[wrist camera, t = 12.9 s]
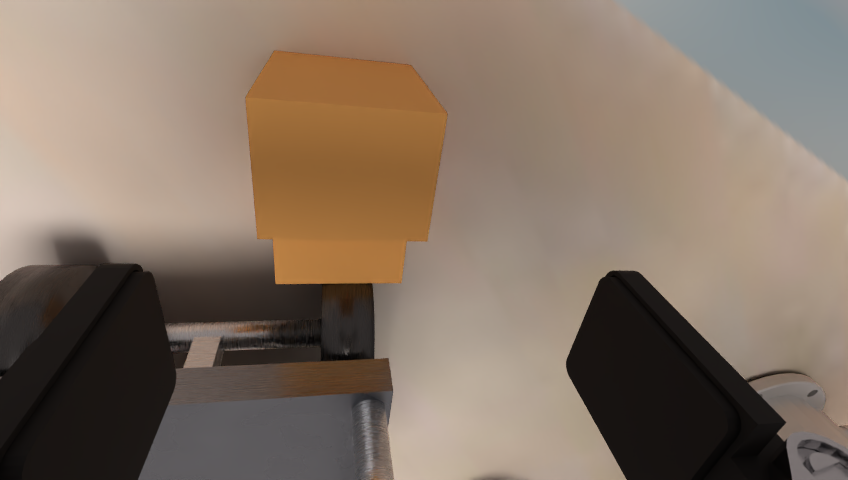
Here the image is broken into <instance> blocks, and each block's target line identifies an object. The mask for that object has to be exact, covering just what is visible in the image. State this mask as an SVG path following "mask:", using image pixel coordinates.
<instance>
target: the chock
mask: <svg viewBox="0 0 848 480" xmlns="http://www.w3.org/2000/svg"><path fill="white" fill-rule="evenodd" d="M245 99H246V111H247V123H248V134H249V146H250V158H251V169H252V181H253V193H254V205H255V216H256V228H257V239H273V251H274V267H275V282H276V284H345V283H401V281H402V274H403V266H404V258H405V250H406V243H407V241H427V240H428V234H429V227H430V221H431V215H432V209H433V202H434V196H435V190H436V184H437V177H438V171H439V165H440V159H441V152H442V146H443V140H444V134H445V127H446V121H447V115H448V114H447V112H446V111H445V110H444V108H443V107H442V106H441V104H440V103H439V102H438V100H437V99H436V98H435V96H434V95H433V94H432V92H431V91H430V90H429V88H428V87H427V86H426V84H425V83H424V82H423V80H422V79H421V78H420V76H419V75H418V74H417V72H416V71H415V70H414V68H413V67H412V66H411V65H406V64H396V63H387V62H377V61H368V60H359V59H349V58H340V57H330V56H321V55H311V54H302V53H292V52H283V51H274V52H273V54H272V55H271V57H270V59H269V60H268V62H267V63H266V65H265V67H264V68H263V70H262V71H261V73H260V75H259V76H258V78H257V79H256V81H255V83H254V84H253V86H252V87H251V89H250V91H249V92H248V94H247V95H246V97H245Z"/></svg>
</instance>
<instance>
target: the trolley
mask: <svg viewBox="0 0 848 480" xmlns="http://www.w3.org/2000/svg"><path fill="white" fill-rule="evenodd" d="M97 267H98V266H96V265H30V266H25V267H22V268H19V269H17V270H15V271H13V272H12V273H10V274H9V275H7V276H6V277H5V278H4V279H3V280H1V281H0V379H1V378H2V377H3V375H4V374H5V373H6V372H7V371H8V369H9V368H10V367H11V366H12V365H13V363H14V362H15V361H16V360H17V359H18V358H19V356H20V355H21V354H22V353H23V352H24V350H25V349H26V348H27V347H28V346H29V345H30V344H31V343H32V342H34V341H35V340H37V339H38V337H39V336H40V335H41V334H42V333H43V331H44V330H45V329H46V328H47V327H48V325H49V324H50V323H51V322H52V321H53V319H54V318H55V317H56V316H57V315H58V313H59V312H60V311H61V310H62V308H63V307H64V306H65V305H66V304H67V302H68V301H69V300H70V299H71V298H72V296H73V295H74V294H75V293H76V292H77V290H78V289H79V288H80V287H81V286H82V284H83V283H84V282H85V281H86V280H87V278H88V277H89V276H90V275H91V274H92V272H93V271H94V270H95V269H96V268H97ZM165 327H166V331H167V335H168V339H169V343H170V348H171V352H172V353H182V352H189V353H188V356H187V359H186V361H185V364H184V367H183V368H176V385H175V389H174V392H173V394H172V397H171V399H170V402H169V404H168V407H167V409H166V412H165V414H164V417H163V419H162V421H161V424H160V426H159V429H158V431H157V434H156V436H155V439H154V441H153V444H152V446H151V449H150V451H149V454H148V456H147V459H146V461H145V464H144V466H143V469H142V471H141V473H140V476H139V478H138V480H394V475H393V467H392V459H391V451H390V443H389V435H388V424H389V417H390V410H391V403H392V396H393V386H392V379H391V373H390V366H389V359H388V358H383V359H374V341H375V339H374V301H373V287H372V283H345V284H322V319H309V320H272V321H235V322H198V323H165ZM304 347H321V362H300V363H280V364H259V365H238V366H221V362H222V358H223V355H224V351H231V350H255V349H280V348H304Z"/></svg>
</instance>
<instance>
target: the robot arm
mask: <svg viewBox="0 0 848 480" xmlns="http://www.w3.org/2000/svg"><path fill="white" fill-rule="evenodd" d="M566 368H567V372H568V375H569V377H570V379H571V380H572V382H573V384H574V386H575V388H576V389H577V391H578V393H579V395H580V397H581V398H582V400H583V402H584V404H585V405H586V407H587V409H588V411H589V413H590V414H591V416H592V418H593V420H594V422H595V423H596V425H597V427H598V429H599V431H600V432H601V434H602V436H603V438H604V440H605V441H606V443H607V445H608V447H609V449H610V450H611V452H612V454H613V456H614V457H615V459H616V461H617V463H618V465H619V466H620V468H621V470H622V472H623V474H624V475H625V477H626V479H627V480H848V425H844V426H838V425H837V424H836V423H834V422H833V421H832V420H831V419H830V418H829V417H828V416H827V415H826V414H825V413H824V412H823V411H822V410H823V408H824V404H825V401H826V398H825V392H824V390H823V389H822V387H821V386H819V385H818V384H817V383H816V382H815V381H814V380H812V379H811V378H810V377H808V376H805V375H803V374H795V373H784V374H776V375H771V376H766V377H763V378H760V379H756V380H753V381H750V382H747V381H746V380H745V379H744V378H743V377H742V376H741V375H740V374H739V373H738V372H737V371H736V370H735V369H734V368H733V367H732V366H731V365H730V364H729V363H728V362H727V361H726V360H725V359H724V358H723V357H722V356H721V355H720V354H719V353H718V352H717V351H716V350H715V349H714V348H713V347H712V346H711V345H710V344H709V343H708V342H707V341H706V340H705V339H704V338H703V337H702V336H701V335H700V334H699V333H698V332H697V331H696V330H695V329H694V328H693V327H692V325H691V324H690V323H689V322H688V321H687V320H686V319H685V318H684V317H683V316H682V315H681V314H680V313H679V312H678V311H677V310H676V309H675V308H674V307H673V306H672V305H671V304H670V303H669V302H668V301H667V300H666V299H665V298H664V297H663V296H662V295H661V294H660V293H659V292H658V291H657V290H656V289H655V288H654V287H653V286H652V285H651V284H650V283H649V282H648V281H647V280H646V279H645V278H644V277H643V276H642V275H641V274H640V273H639V272H636V271H610V272H609V273H608V274H607V275H606V276H605V277H603V278H602V279H601V280H600V281H599V283H598V286H597V288H596V290H595V293H594V295H593V298H592V300H591V302H590V305H589V307H588V310H587V312H586V314H585V317H584V319H583V322H582V324H581V326H580V329H579V331H578V334H577V336H576V338H575V341H574V343H573V346H572V348H571V350H570V353H569V355H568V357H567V361H566ZM175 385H176V369H175V364H174V360H173V356H172V352H171V348H170V343H169V339H168V335H167V331H166V327H165V322H164V318H163V314H162V310H161V306H160V301H159V297H158V293H157V289H156V285H155V280H154V277H153V275H152V273H151V272H143V269H142V267H141V266H140V265H138V264H110V263H104V264H100V265H99V266H98V267H97V268H96V269H95V270H94V271H93V272H92V274H91V275H90V276H89V277H88V278H87V280H86V281H85V282H84V283H83V284H82V286H81V287H80V288H79V289H78V290H77V292H76V293H75V294H74V295H73V296H72V298H71V299H70V300H69V301H68V302H67V304H66V305H65V306H64V307H63V308H62V310H61V311H60V312H59V313H58V315H57V316H56V317H55V318H54V319H53V321H52V322H51V323H50V324H49V325H48V327H47V328H46V329H45V330H44V331H43V333H42V334H41V335H40V336H39V337H38V339H37V340H35V341H34V342H32V343H31V344H30V345H29V346H28V347H27V348H26V349H25V350H24V352H23V353H22V354H21V355H20V356H19V358H18V359H17V360H16V361H15V362H14V363H13V365H12V366H11V367H10V368H9V369H8V371H7V372H6V373H5V374H4V375H3V377H2V378H1V379H0V480H138V478H139V476H140V473H141V471H142V469H143V466H144V464H145V461H146V459H147V456H148V454H149V451H150V449H151V446H152V444H153V441H154V439H155V436H156V434H157V431H158V429H159V426H160V424H161V421H162V419H163V417H164V414H165V412H166V409H167V407H168V404H169V402H170V399H171V397H172V394H173V392H174V389H175Z"/></svg>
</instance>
